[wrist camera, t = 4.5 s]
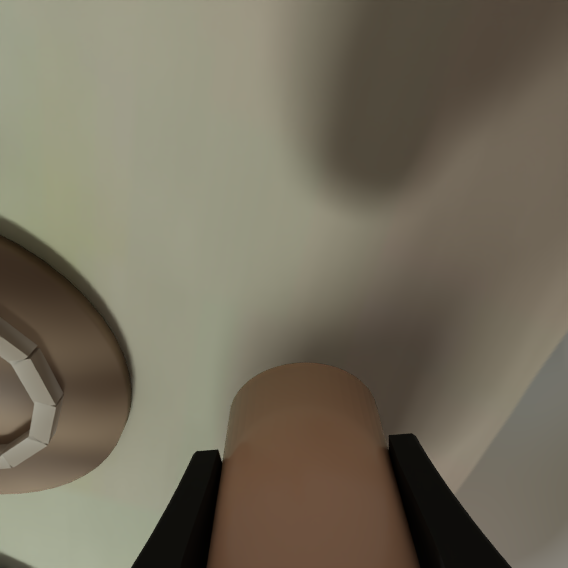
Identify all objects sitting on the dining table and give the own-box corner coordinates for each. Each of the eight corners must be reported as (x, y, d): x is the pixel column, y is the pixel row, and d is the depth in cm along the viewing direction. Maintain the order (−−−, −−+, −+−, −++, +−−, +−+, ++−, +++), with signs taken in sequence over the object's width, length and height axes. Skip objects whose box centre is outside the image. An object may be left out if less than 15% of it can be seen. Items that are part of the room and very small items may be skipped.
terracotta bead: (377, 461, 14) (430, 686, 9) (242, 472, 14) (221, 696, 9) (376, 355, 11) (447, 577, 6) (216, 370, 12) (168, 594, 7)
